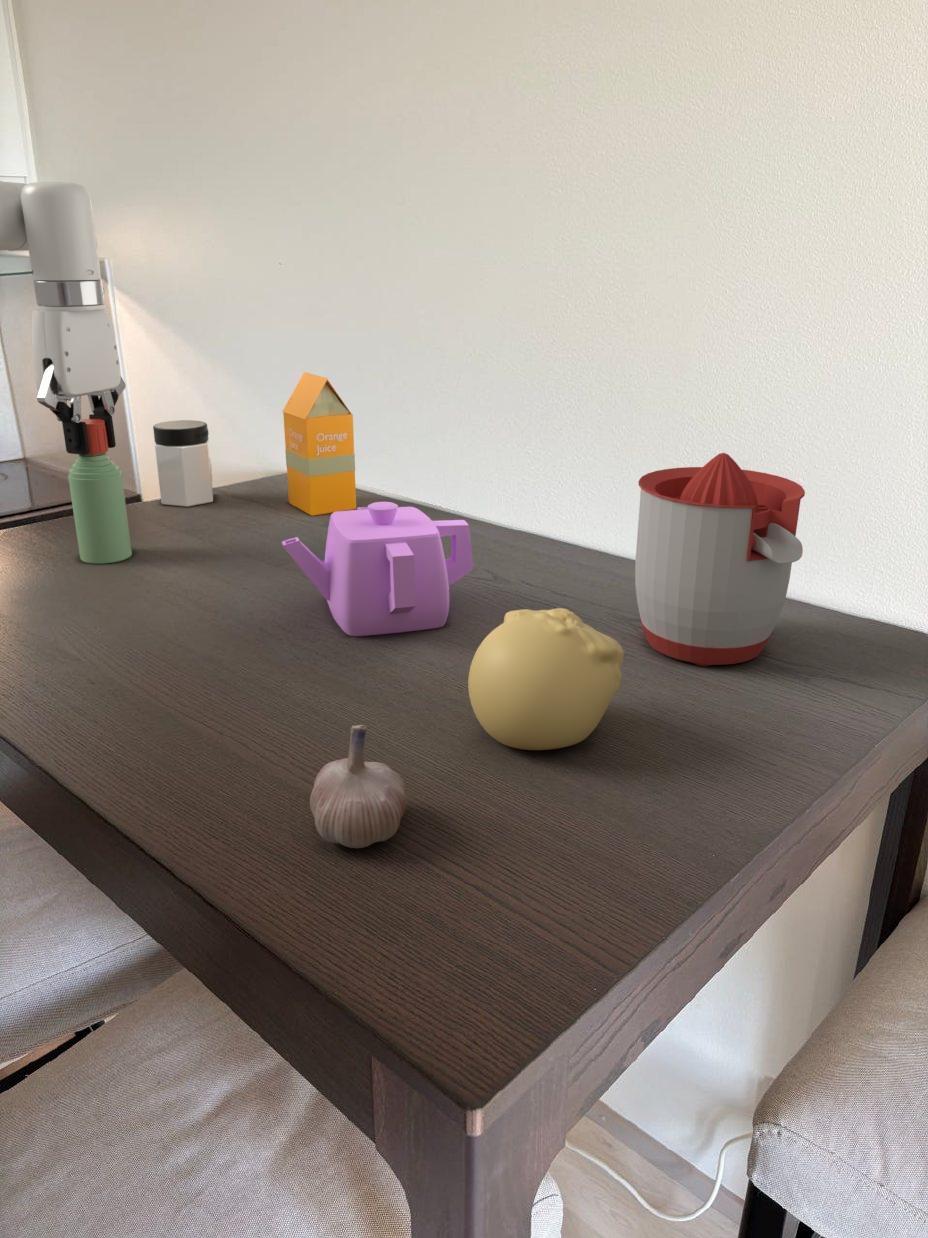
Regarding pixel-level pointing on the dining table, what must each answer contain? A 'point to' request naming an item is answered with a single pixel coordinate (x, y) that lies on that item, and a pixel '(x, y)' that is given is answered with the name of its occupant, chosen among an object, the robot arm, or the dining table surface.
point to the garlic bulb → (357, 798)
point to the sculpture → (543, 679)
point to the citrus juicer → (714, 559)
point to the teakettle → (386, 568)
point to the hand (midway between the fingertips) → (91, 448)
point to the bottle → (99, 509)
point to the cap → (96, 436)
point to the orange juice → (319, 448)
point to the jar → (183, 462)
